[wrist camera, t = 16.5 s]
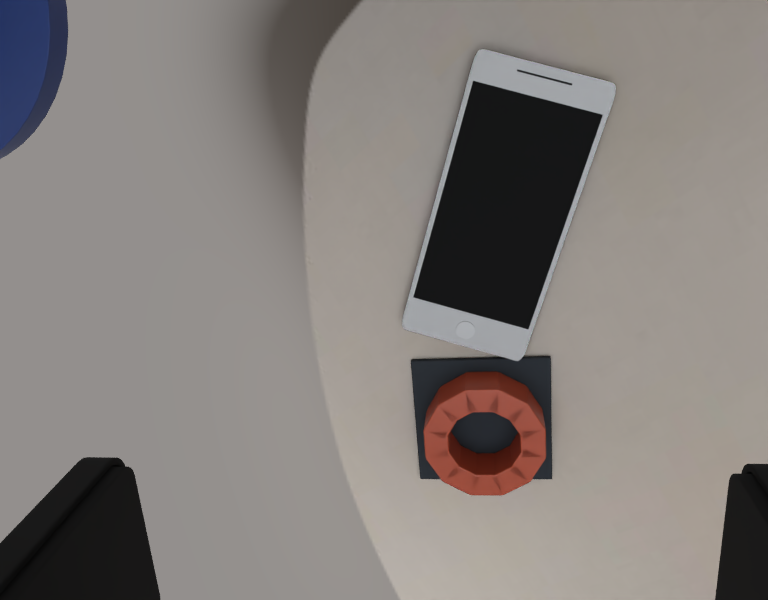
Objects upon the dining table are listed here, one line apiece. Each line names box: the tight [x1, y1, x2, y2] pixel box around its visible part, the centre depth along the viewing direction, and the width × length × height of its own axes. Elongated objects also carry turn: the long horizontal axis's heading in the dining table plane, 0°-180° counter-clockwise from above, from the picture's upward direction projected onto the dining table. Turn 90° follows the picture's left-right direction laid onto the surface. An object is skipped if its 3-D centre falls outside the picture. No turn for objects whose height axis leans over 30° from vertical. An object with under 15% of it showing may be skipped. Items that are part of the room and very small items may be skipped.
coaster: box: [411, 356, 552, 479], centre depth 42 cm, size 8×8×1 cm
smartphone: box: [402, 49, 616, 361], centre depth 37 cm, size 7×15×1 cm, turn 166°
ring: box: [423, 371, 546, 495], centre depth 40 cm, size 7×7×2 cm
